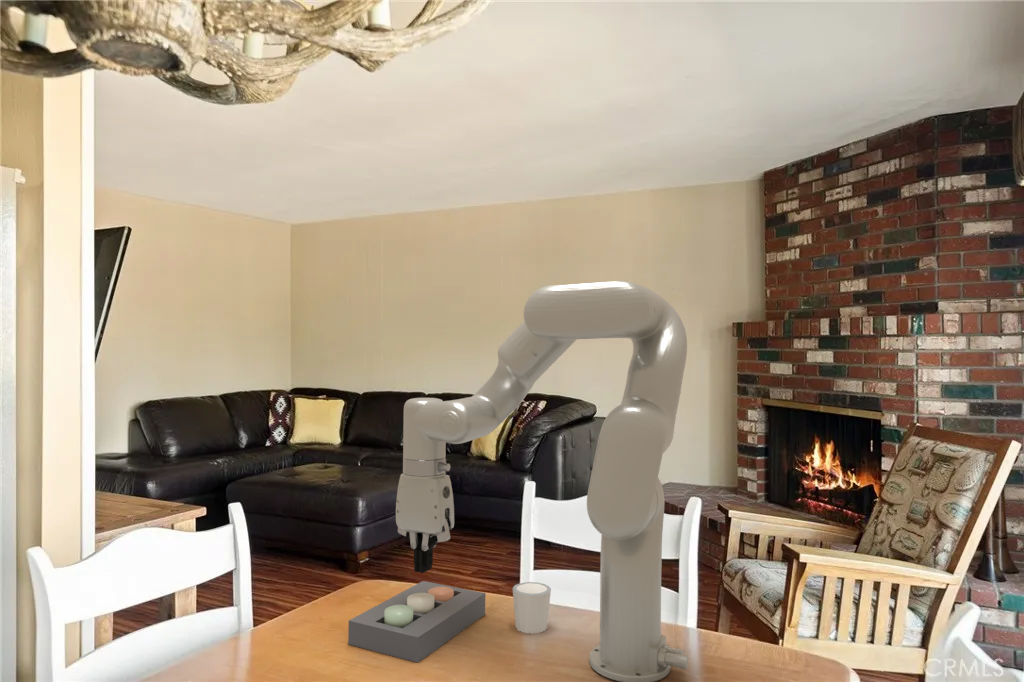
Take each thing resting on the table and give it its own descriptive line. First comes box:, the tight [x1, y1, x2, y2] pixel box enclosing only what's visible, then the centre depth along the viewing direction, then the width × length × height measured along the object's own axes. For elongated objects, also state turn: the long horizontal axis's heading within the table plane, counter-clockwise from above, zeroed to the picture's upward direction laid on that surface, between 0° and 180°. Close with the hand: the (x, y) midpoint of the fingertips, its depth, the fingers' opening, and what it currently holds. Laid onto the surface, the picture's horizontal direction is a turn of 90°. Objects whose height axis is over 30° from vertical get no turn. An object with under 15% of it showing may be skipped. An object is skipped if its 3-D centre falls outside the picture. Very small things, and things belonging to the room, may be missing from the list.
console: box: [347, 580, 486, 664], centre depth 121 cm, size 14×22×4 cm, turn 153°
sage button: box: [384, 605, 413, 628], centre depth 116 cm, size 5×5×3 cm
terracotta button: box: [428, 587, 454, 602], centre depth 127 cm, size 5×5×3 cm
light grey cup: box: [512, 581, 552, 635], centre depth 123 cm, size 7×7×7 cm
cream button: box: [407, 593, 434, 614], centre depth 121 cm, size 5×5×3 cm
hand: (423, 570), depth 122 cm, fingers closed
